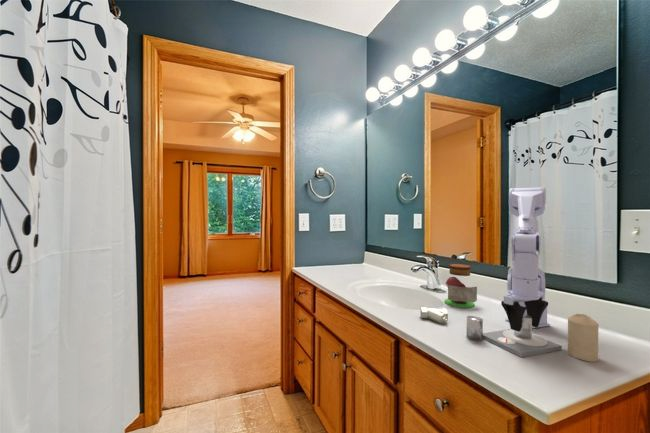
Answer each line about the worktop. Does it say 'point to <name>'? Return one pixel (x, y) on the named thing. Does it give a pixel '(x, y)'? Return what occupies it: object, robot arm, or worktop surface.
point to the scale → (521, 343)
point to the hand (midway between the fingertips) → (524, 328)
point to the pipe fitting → (435, 314)
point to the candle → (583, 337)
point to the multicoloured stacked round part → (460, 288)
